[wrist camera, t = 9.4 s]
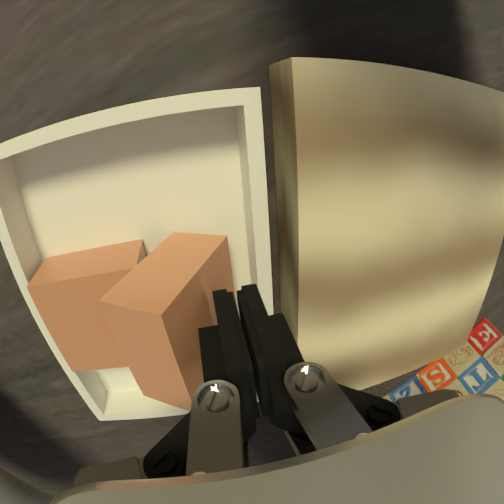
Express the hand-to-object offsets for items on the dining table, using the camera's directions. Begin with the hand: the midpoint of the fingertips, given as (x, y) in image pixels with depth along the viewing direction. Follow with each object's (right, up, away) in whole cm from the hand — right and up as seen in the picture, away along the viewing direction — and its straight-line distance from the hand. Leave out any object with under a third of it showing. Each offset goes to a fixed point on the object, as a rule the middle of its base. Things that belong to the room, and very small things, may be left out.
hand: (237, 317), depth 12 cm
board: (+9, +3, +5) cm, 10 cm away
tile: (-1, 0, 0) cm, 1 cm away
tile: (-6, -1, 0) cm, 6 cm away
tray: (-4, +1, +3) cm, 5 cm away
